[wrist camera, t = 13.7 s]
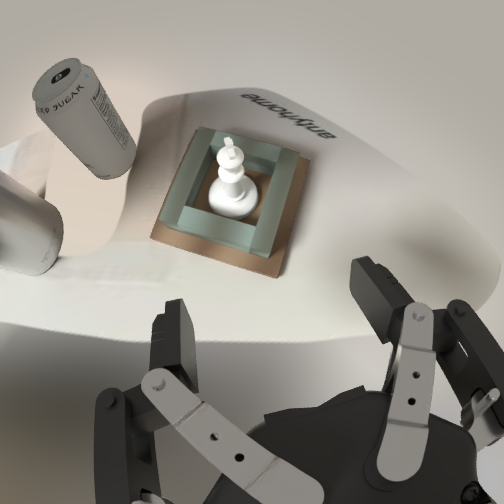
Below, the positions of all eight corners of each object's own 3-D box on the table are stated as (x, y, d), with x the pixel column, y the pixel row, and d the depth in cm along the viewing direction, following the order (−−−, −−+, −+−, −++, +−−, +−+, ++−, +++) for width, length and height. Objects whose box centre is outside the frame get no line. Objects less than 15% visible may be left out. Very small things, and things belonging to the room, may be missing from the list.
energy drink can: (90, 153, 30) (28, 78, 15) (132, 131, 31) (85, 43, 16) (99, 191, 29) (24, 120, 14) (144, 168, 30) (89, 78, 15)
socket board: (152, 239, 28) (139, 229, 24) (197, 134, 31) (192, 113, 27) (276, 278, 28) (281, 273, 24) (308, 164, 30) (316, 145, 26)
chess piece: (215, 226, 28) (201, 181, 18) (203, 181, 29) (187, 123, 19) (264, 213, 28) (275, 164, 18) (250, 169, 29) (254, 108, 19)
